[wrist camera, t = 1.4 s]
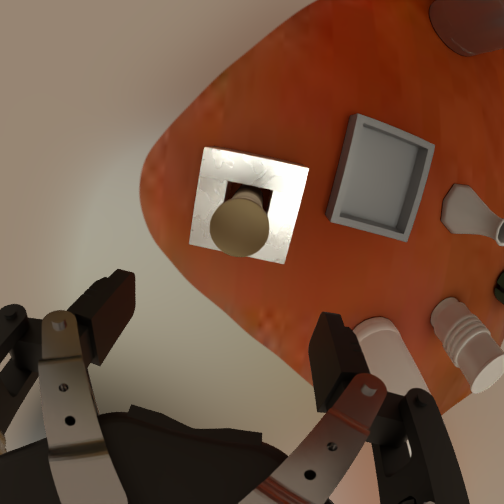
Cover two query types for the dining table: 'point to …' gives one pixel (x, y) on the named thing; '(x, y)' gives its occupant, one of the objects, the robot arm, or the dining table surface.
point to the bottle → (389, 357)
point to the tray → (379, 178)
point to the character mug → (503, 293)
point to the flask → (470, 214)
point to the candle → (468, 344)
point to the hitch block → (255, 174)
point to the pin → (241, 223)
